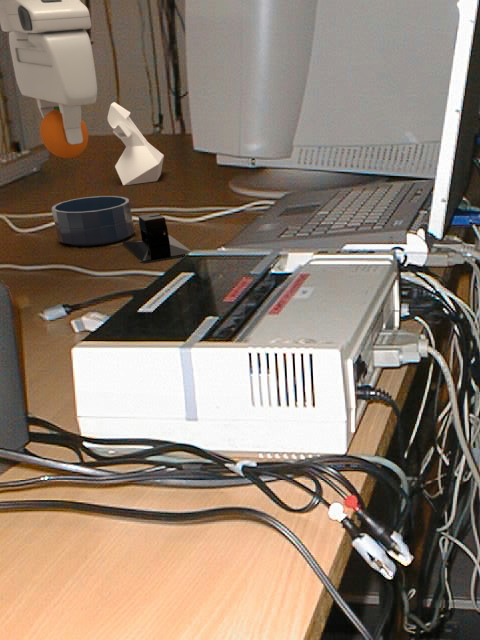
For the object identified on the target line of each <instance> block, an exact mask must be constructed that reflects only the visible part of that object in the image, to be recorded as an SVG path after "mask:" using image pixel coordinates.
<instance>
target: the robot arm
mask: <svg viewBox="0 0 480 640" xmlns="http://www.w3.org/2000/svg"><path fill="white" fill-rule="evenodd" d="M90 15H91V14H90V10H89V9H88V7H87V6H86V5H85V4H84V3H83V2H82V1H81V0H0V28H1V31H2V32H5V33H7V32H8V43H9V49H10V54H11V61H12V65H13V71H14V76H15V80H16V84H17V86H18V89H19V92H20V93H21V95H22V96H24V97H28V98H32V99H35V100H36V103H37V108H38V111H39V112H40V115H41V117H42V119H43V118H44V117H45V115H46V114H47V113H49V112H50V111H52V110H54V108H53V107H58V106H59V109H60V113H62V117H63V125H64V128H62V130H63V134H64V138H65V141H66V142H67V143H69V144H79V143H82V142H83V137H82V132H81V119H82V107H81V106H86V105H93V104H95V103H96V102H97V97H98V82H97V81H98V80H97V74H96V67H95V59H94V54H93V53H94V52H93V48H92V47H93V46H92V42H91V39H90V35H89V33H88V32H87V31H86V30H90V29H91V28H92V21H91V16H90Z"/></svg>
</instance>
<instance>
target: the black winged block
mask: <svg viewBox="0 0 480 640" xmlns="http://www.w3.org/2000/svg"><path fill="white" fill-rule="evenodd" d="M137 217H138V225H139V231H140V236H141V238H139V239H134V240H128V241H126V240H125V241H122V245H123V246H124V247H125V248H126V249H127V250H128V251H129V252H130V253H132V254H133V256H135V257H136V259H137V261H138V262H139V263H141V264H147V263H154V262H160V261H165V259H166V260H171V258H172V259H177V257H178V258H182V256H183V255H185V254H186V253H187V252H189V251H192V250H191V249H190V248H188V247H186V246H185V245H184V244H183V243H181V242H180V241H178V240H177V239H175V238H174V236H172V235H170V234H169V231H168V225H167V222H166V217H165V216H164V215H161V214H160V213H159V212H155V213H148V214H142V215H138V216H137ZM179 256H180V257H179ZM159 260H160V261H159Z"/></svg>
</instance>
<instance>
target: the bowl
mask: <svg viewBox="0 0 480 640" xmlns="http://www.w3.org/2000/svg"><path fill="white" fill-rule="evenodd" d="M51 214H52V219H53V221H54V227H55V232H56V235H57V239H58V240H57V241H59V242H61V243H63V244H68V245H70V246H75V247H94V246H95V247H96V246H104V245H110V244H114V243H118V242H121V241H123V240H125V239H127V238H128V237H130V236H132V235H134V234H135V224H134V220H133V213H132V208H131V203H130V199H129V198H127V197H125V196H117V195H98V196H97V195H96V196H85V197H78V198H73V199H69V200H64V201H61V202H58V203H56V204H54V205H52V207H51Z"/></svg>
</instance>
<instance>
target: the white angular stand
mask: <svg viewBox="0 0 480 640" xmlns="http://www.w3.org/2000/svg"><path fill="white" fill-rule="evenodd" d="M130 115H131V112H130V111H129V110H127V109H126V108H124V107H123V106H121V105H120V104H118V103H117V102H116V101H114V102H112V103H111V104H110V105H109V109H108V114H107V123H108V124H109V126H110V127H111V129H112V133H113V134H114V135H115V136H116V137H117V138H118V139H119V140H121V142H122V143H123V144H124V146H125V149H124V150H123V152H122V153H121V155H120V156H119V158H118V160H117V162H116V163H115V165H114V168H115V170H116V172H117V175H118V177H119V179H120V182H121V183H122V186H130V185H136V184H137V185H139V184H146V183H153V182H158V180H159V178H160V177H161V175H162V169H163V164H164V158H165V155H164V154H163V153H162V152H160V151H159V150H158V149H157V148H156V147H155V146H153V145H152V144H151V143H149V141H148V140H147V139H146V137H145V136H144V135H143V133H142V132H141V131H140V129H139V128H138V127H137V125H136V124H135V122H133V119H131V117H130Z"/></svg>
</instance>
